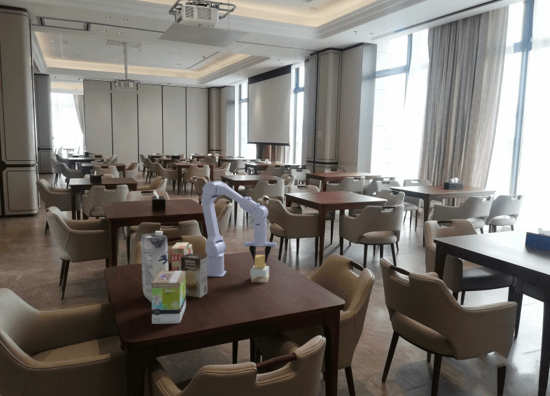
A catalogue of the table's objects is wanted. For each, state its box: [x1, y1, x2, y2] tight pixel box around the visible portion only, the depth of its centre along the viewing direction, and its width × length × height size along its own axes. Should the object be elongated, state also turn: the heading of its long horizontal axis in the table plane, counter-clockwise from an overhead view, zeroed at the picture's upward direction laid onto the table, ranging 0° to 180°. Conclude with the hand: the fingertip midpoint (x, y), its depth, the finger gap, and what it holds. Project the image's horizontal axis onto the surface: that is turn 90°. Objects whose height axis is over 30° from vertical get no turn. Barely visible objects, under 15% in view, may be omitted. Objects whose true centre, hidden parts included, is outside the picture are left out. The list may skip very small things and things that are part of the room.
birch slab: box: [250, 272, 270, 283], centre depth 197 cm, size 7×7×3 cm
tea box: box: [151, 270, 187, 325], centre depth 155 cm, size 15×10×15 cm
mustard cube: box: [254, 254, 267, 267], centre depth 196 cm, size 4×4×4 cm
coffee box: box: [181, 253, 208, 298], centre depth 178 cm, size 9×6×16 cm
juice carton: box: [140, 230, 170, 303], centre depth 173 cm, size 9×10×27 cm
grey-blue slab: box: [249, 264, 270, 277], centre depth 197 cm, size 7×7×3 cm
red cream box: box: [170, 241, 194, 271], centre depth 218 cm, size 21×6×12 cm, turn 0°
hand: (260, 262), depth 197 cm, fingers closed on mustard cube, 4 cm apart
